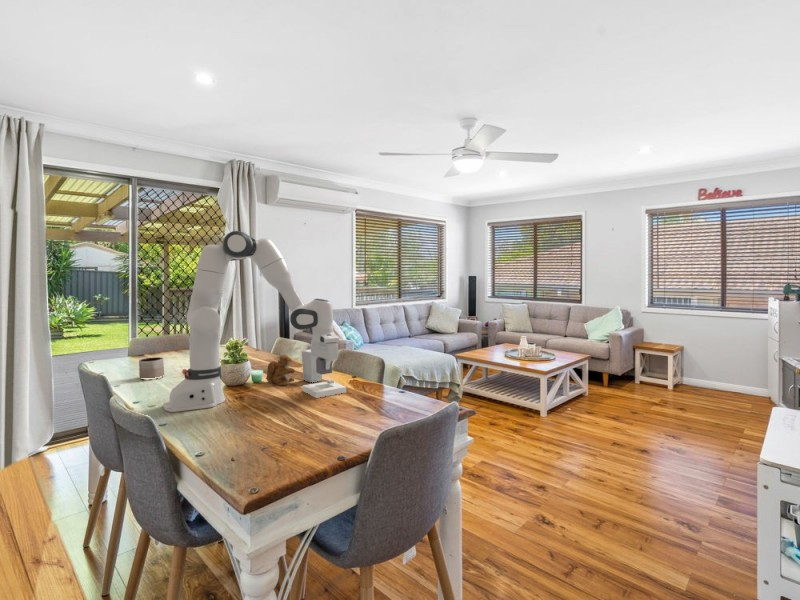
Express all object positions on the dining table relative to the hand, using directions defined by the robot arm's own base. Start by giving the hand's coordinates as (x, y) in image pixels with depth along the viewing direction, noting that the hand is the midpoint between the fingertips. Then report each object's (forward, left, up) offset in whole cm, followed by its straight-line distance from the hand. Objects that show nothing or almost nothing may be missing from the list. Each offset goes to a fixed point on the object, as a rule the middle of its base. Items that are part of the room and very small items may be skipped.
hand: (323, 367), depth 192 cm
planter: (-58, +77, -11) cm, 97 cm away
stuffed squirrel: (-10, +29, -11) cm, 32 cm away
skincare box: (+4, +22, -11) cm, 25 cm away
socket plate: (0, 0, -10) cm, 10 cm away
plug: (0, 0, -2) cm, 2 cm away
